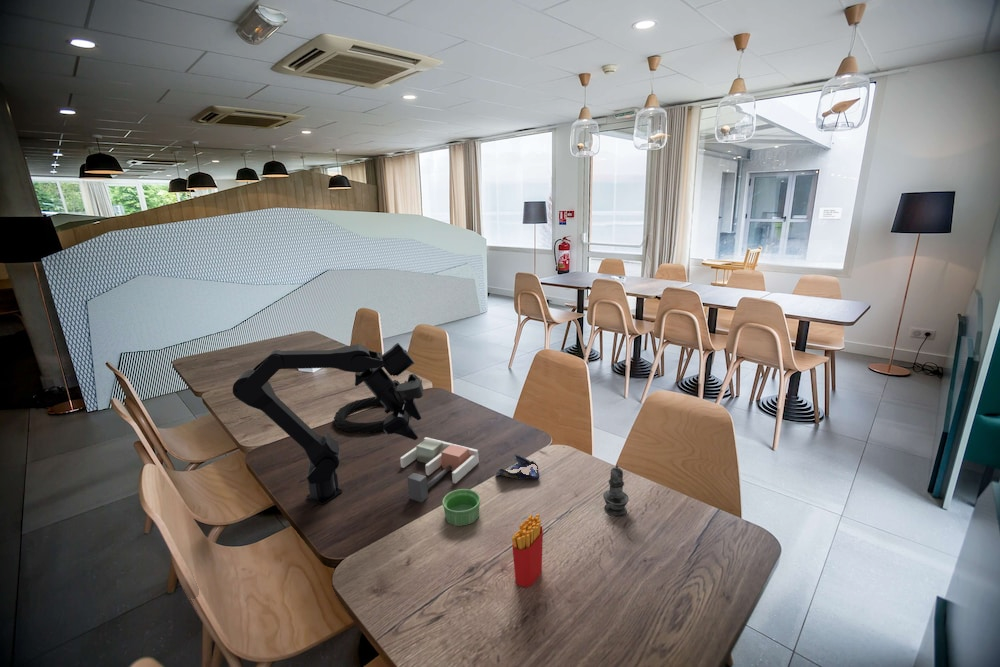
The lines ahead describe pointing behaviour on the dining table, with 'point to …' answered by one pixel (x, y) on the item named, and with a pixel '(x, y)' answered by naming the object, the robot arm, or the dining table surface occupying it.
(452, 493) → the ramekin
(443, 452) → the tethered block
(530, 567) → the french fries
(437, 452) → the sage block
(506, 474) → the snack package
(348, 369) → the robot arm
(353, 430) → the cable lock
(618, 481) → the dark chess piece
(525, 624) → the dining table surface
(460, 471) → the lane rack
